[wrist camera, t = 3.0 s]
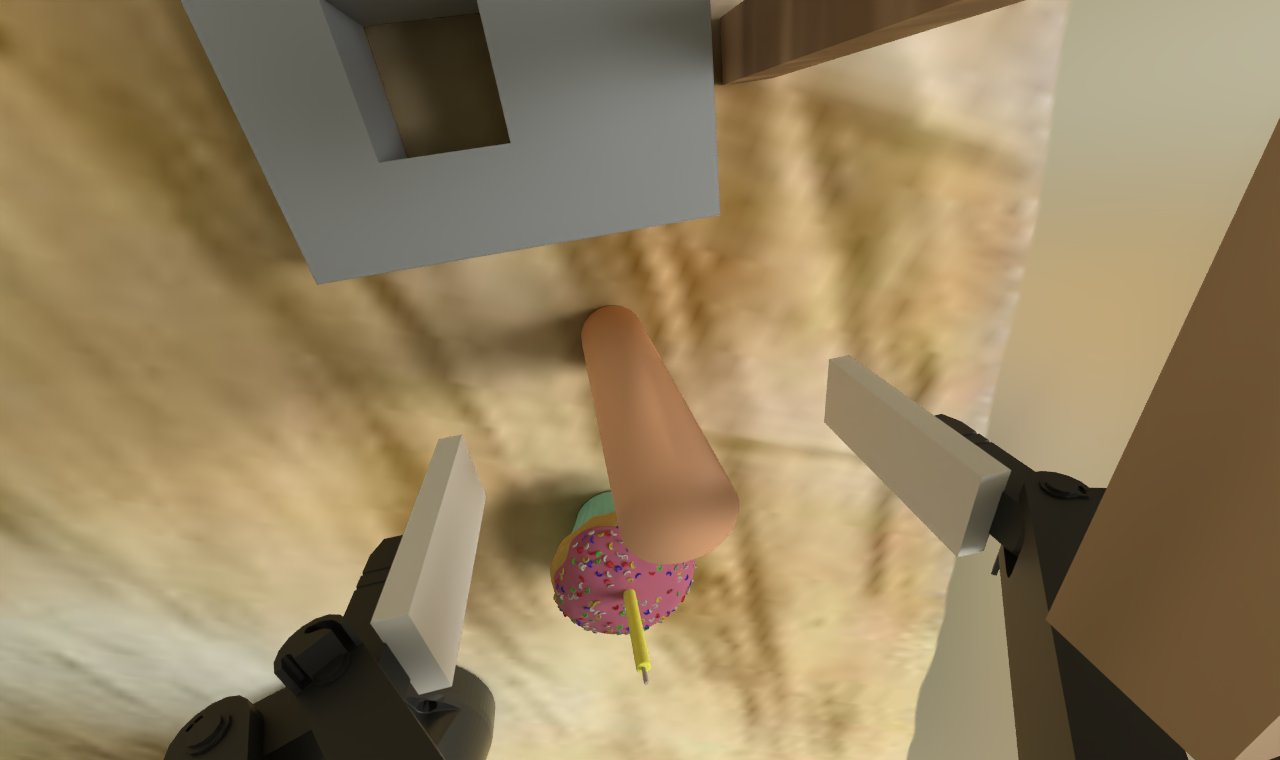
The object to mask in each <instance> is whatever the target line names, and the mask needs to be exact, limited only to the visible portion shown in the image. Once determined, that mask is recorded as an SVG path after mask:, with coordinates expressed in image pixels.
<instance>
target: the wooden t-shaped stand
mask: <svg viewBox="0 0 1280 760" xmlns="http://www.w3.org/2000/svg"><path fill="white" fill-rule="evenodd" d="M1021 1H1024V0H744V1H743V2H741V3H740V4H739V5H737V6H736V7H735V8H733V9H732V10H730V11H729V12H728V13H726V14H725V15H724V16H722V17H721V18H720V27H721V53H722V79H723V85H727V84H734V83H741V82H748V81H755V80H762V79H769V78H775V77H778V76H781V75H784V74H787V73H791V72H794V71H797V70H800V69H804V68H807V67H810V66H813V65H817V64H820V63H823V62H826V61H830V60H833V59H836V58H839V57H843V56H846V55H849V54H852V53H856V52H859V51H862V50H865V49H869V48H872V47H875V46H878V45H882V44H885V43H888V42H891V41H895V40H898V39H901V38H904V37H908V36H911V35H914V34H917V33H921V32H924V31H927V30H930V29H934V28H937V27H940V26H943V25H946V24H950V23H953V22H956V21H959V20H963V19H966V18H969V17H972V16H976V15H979V14H982V13H985V12H989V11H992V10H995V9H998V8H1002V7H1005V6H1008V5H1011V4H1015V3H1018V2H1021ZM1045 620H1046V621H1047V622H1049V623H1050V624H1051V625H1052V626H1053V627H1054V628H1055V629H1056V630H1057V631H1058V632H1059V633H1060V634H1061V635H1062V636H1063V637H1065V638H1066V639H1067V640H1068V641H1069V642H1070V643H1071V644H1072V645H1073V646H1074V647H1075V648H1076V649H1077V650H1078V651H1079V652H1081V653H1082V654H1083V655H1084V656H1085V657H1086V658H1087V659H1088V660H1089V661H1090V662H1091V663H1092V664H1093V665H1094V666H1095V667H1097V668H1098V669H1099V670H1100V671H1101V672H1102V673H1103V674H1104V675H1105V676H1106V677H1107V678H1108V679H1109V680H1110V681H1111V682H1113V683H1114V684H1115V685H1116V686H1117V687H1118V688H1119V689H1120V690H1121V691H1122V692H1123V693H1124V694H1125V695H1126V696H1128V697H1129V698H1130V699H1131V700H1132V701H1133V702H1134V703H1135V704H1136V705H1137V706H1138V707H1139V708H1140V709H1141V710H1142V711H1144V712H1145V713H1146V714H1147V715H1148V716H1149V717H1150V718H1151V719H1152V720H1153V721H1154V722H1155V723H1156V724H1157V725H1158V726H1160V727H1161V728H1162V729H1163V730H1164V731H1165V732H1166V733H1167V734H1168V735H1169V736H1170V737H1171V738H1172V739H1173V740H1174V741H1176V742H1177V743H1178V744H1179V745H1180V746H1181V747H1182V748H1183V749H1184V750H1185V751H1186V752H1187V753H1188V754H1190V756H1192V757H1193V758H1194V759H1195V760H1270V759H1272V758H1275V757H1278V756H1280V119H1279V121H1278V123H1277V125H1276V127H1275V130H1274V132H1273V134H1272V136H1271V138H1270V140H1269V143H1268V144H1267V147H1266V149H1265V151H1264V153H1263V155H1262V158H1261V159H1260V162H1259V164H1258V166H1257V168H1256V170H1255V172H1254V174H1253V177H1252V179H1251V181H1250V183H1249V185H1248V187H1247V189H1246V192H1245V194H1244V196H1243V198H1242V200H1241V202H1240V204H1239V206H1238V209H1237V211H1236V214H1235V215H1234V217H1233V219H1232V221H1231V224H1230V226H1229V228H1228V230H1227V232H1226V234H1225V236H1224V239H1223V241H1222V243H1221V245H1220V247H1219V249H1218V251H1217V254H1216V256H1215V258H1214V260H1213V262H1212V264H1211V266H1210V268H1209V271H1208V273H1207V275H1206V277H1205V279H1204V281H1203V284H1202V286H1201V288H1200V290H1199V292H1198V294H1197V296H1196V298H1195V301H1194V303H1193V305H1192V307H1191V309H1190V311H1189V314H1188V316H1187V318H1186V320H1185V322H1184V324H1183V326H1182V328H1181V331H1180V333H1179V335H1178V337H1177V339H1176V341H1175V343H1174V346H1173V348H1172V350H1171V352H1170V354H1169V356H1168V359H1167V360H1166V363H1165V365H1164V367H1163V369H1162V371H1161V373H1160V375H1159V378H1158V380H1157V382H1156V384H1155V386H1154V388H1153V390H1152V393H1151V395H1150V397H1149V399H1148V401H1147V403H1146V405H1145V408H1144V410H1143V412H1142V414H1141V416H1140V418H1139V420H1138V423H1137V425H1136V427H1135V429H1134V431H1133V433H1132V435H1131V438H1130V440H1129V442H1128V444H1127V446H1126V448H1125V450H1124V452H1123V455H1122V457H1121V459H1120V461H1119V463H1118V465H1117V468H1116V470H1115V472H1114V474H1113V476H1112V478H1111V480H1110V482H1109V485H1108V487H1107V489H1106V491H1105V493H1104V495H1103V497H1102V500H1101V502H1100V504H1099V506H1098V508H1097V510H1096V512H1095V515H1094V517H1093V519H1092V521H1091V523H1090V525H1089V527H1088V530H1087V532H1086V534H1085V536H1084V538H1083V540H1082V542H1081V545H1080V547H1079V549H1078V551H1077V553H1076V555H1075V557H1074V559H1073V562H1072V564H1071V566H1070V568H1069V570H1068V572H1067V574H1066V577H1065V579H1064V581H1063V583H1062V585H1061V587H1060V589H1059V592H1058V594H1057V596H1056V598H1055V600H1054V602H1053V604H1052V607H1051V609H1050V611H1049V613H1048V615H1047V617H1046V619H1045Z"/></svg>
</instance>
